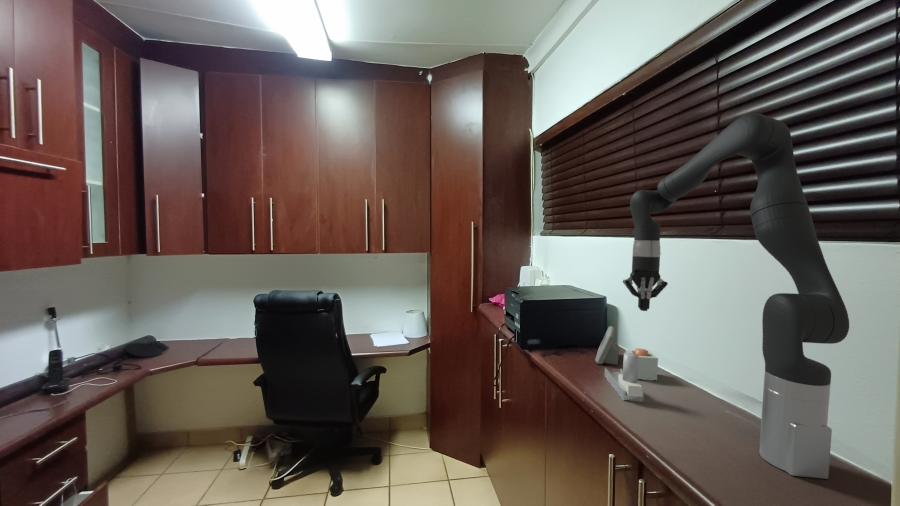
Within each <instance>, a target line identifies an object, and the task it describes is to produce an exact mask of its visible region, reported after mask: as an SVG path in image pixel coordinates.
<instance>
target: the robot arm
mask: <svg viewBox="0 0 900 506" xmlns="http://www.w3.org/2000/svg"><path fill="white" fill-rule="evenodd" d="M735 155H738V156H741V157H744V158H747V159H748V160H750V161H751V163H752V165H753V167H754V169H755V173H756V177H757V186H756V187H757V188H756V190H755V192H754V195H753V197H752V200H751V203H750V208H749V212H750V219H751V222H752V227H753V231H754V235H755V237H756V239H757V241H758V243H759V244H760V245H761V246H762V247H763V248H764V250H766V252H768V253H769V255H771V257H773V258H774V259H775V260H776V261H777V262H778V263H779V265H782V267H783V268H784V269H785V270H786V271H787V272H788V274H789V275H790V276H791V279H792V280H793V282H794V285H795V287H796V290H797V293H793V292H792V293H788V292H784V293H783V292H780V293H775V294H772V295H771V296H769V297H768V298H767V299H766V301H765V303H764V306H763V310H762V324H761V325H762V344H761V345H762V346H761V347H762V349H761V351H762V357H763V360H764V375H763V376H764V377H763V378H764V379H763V390H762V391H763V392H762V403H761V404H762V405H761V406H762V407H761V421H760V436H759V451H758V452H759V455H760V457H761V458H762V459H763V460H765V461H766V462H767V463H769V464H771V465H772V466H774V467H775V468H777V469H779V470H782V471H784V472H786V473H788V474H789V476H794V477H802V478H803V477H805V478H815V479H816V478H817V479H823V480H824V479H826V480H829V472H830V470H829V469H830V461H831V459H830V458H831V449H832V447H831V445H832V434H833V433H832V432H833V431H832V430H833V429H832V428H831V427H829V426H828V420H829V419H828V418H829V405H830V396H831V395H830V394H831V382H832V370H831V368H829V367H828V366H827V365H826V364H824V363H821V362H819V361H817V360H815V359H811V358H808V357H806V355H805V354H804V346H803V343H804V344H805V343H808V344H823V345H824V344H828V345H831V344H837V343H841V342H842V341H844V340H845V339H846V337H848V334H849V332H850V331H849V330H850V318H849V313H848V311H847V308H846V305H845V303H844V300H843V298H842V295H841V293H840V291H839V289H838V287H837V285H836V283H835V280H834V278H833V276H832V273H831V272H830V269H829V268H828V265H827V262H826V260H825V257H824V254H823V252H822V251H823V250H822V248H821V245H820V243H819V239H818V236H817V233H816V229H815V224H814V222H813V221H814V220H813V218H812V214H811V211H810V207H809V204H808V202H807V199H806V196H805V194H804V193H805V192H804V190H803V187H802V183H801V181H800V177H799V174H798V171H797V166H796V161H795V155H794V147H793V140H792V135H791V131H790V128H789V127H788V125H786V124H785V123H784V122H783V121H781V120H779V119H777V118H774V117H770V116H767V115H765V114H762V113H757V112H750V113H747V114H744V115H742V116H740V117H738V118H737V119H735V120H734V121H733V122H731V123H730V124H729V125H728V126H727V127H725V128H724V129H723V130H722V131H721V132H719V134H717V136H715V137H714V138H713V139H712V140H711V141H710V142H709V143H707V144H706V145H705V146H704V147H703V148H702V149H701V150H699V152H698V153H696V154H695V155H694V156H693V157H692V158H691V159H690V160H689V161H687V162H686V163H684V164H683V165H682V166H681V167H679V168H677V169H676V170H674V171H673V172H671V173H669V174H668V175H666V176H665V177H664V178H662V179H661V180H660V181H659V182H658V184H657V189H656V190H650V189H639V190H637V191H635V192H634V193H633V194H632V196H631V198H630V201H629V208H630V209H629V210H630V213H631V217H632V222H633V225H634V234H633V235H634V238H633V239H634V240H633V244H632V258H631V259H632V260H631V265H632V266H631V272H630V274H629V277H627V278H626V279H623V280H622V283H623V285H625V287H626V288H627V290H628V291H629V292H630V294H631V295H632V296H634V297H636V298H637V299H638V303H637V304H638V305H637V307H638V309H639V310H640V311H641V312H648V310H649V309H650V304H651V303H650V302H651V301H650V300H651V299H653V298H657V297H658V296H659V294H661V292H662V291H663V290H664V289H665V288H666V287H667V286H668V282H667V281H666V280H665V281H664V279H662V278H661V274H660V265H661V264H660V263H661V262H660V260H661V241H660V240H661V225H660V224H661V223H659V222H658V221H655V220H653V218H652V215H653V214H655V215H656V214H660V213H662V212H664V211H666V210H668V208H670V207H671V205H673V204H674V203H675V202H676V201H677V200H678V199H679V198H681V197H682V196H683V197H684V196H685V195H686V194H688V193H690V192H691V191H694V190H695V189H696V188H697V187H699V186H700V185H701V184H702V183H703V182H704V181H705V179H706V178H707V177H708V175H709V173H710V172H711V170H712V169H713V168H714V167H715V166H716V165H717V164H719V163H720V162H722V161H724V160H726V159H728V158H730V157H732V156H735ZM633 283H634V285H635V286H636V288H635V287H634V286H633ZM655 285H656V286H655ZM654 286H655V287H654Z"/></svg>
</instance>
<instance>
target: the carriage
mask: <svg viewBox="0 0 900 506" xmlns="http://www.w3.org/2000/svg"><path fill="white" fill-rule="evenodd" d="M622 362H623V363H622V369H623V374H618V382H619V383H620V384H621V386H622V387H623V388H624V389H625V390H626V394H627V395H628V396H640V397H642V391H643V386H642V385H641V384H640V383H639V382H638V379H637V376H638V355H637V354H634V353H626V352H624V353H623V361H622Z"/></svg>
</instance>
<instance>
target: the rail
mask: <svg viewBox="0 0 900 506" xmlns="http://www.w3.org/2000/svg"><path fill="white" fill-rule="evenodd" d="M618 374H623V368H619V371H610V370H609V369H608V367H604V377H605V379H606V378H607V379H606V380H607V381H608V382H609V384H610V383H611V384H610V385H611V387H614V388H613V389H614V390H615V392H616V391H617V392H618V393H617V392H616V393H617V394H618V395H620V396H621V397H620V398H621V399H622V401H624V400H630V401H629V402H636V403H637V402H639V403H642V402H644V394H645V392H644V391H643V390H642V397H640V396H628V395H627V394H626V390H625V389H624V388H623V387H622V386H621V384H620V383H619V382H618Z"/></svg>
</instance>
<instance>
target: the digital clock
mask: <svg viewBox="0 0 900 506" xmlns="http://www.w3.org/2000/svg"><path fill="white" fill-rule="evenodd" d="M616 331H617V329H616V328H615V327H614V326H612V325H610V326H608V328H607V330H606V332H605V333H604V336H603V339H602V340H601V342H600V345H599V347H598V350H597V351H596V352H597V353H596V356H595V359H594V360H595V362H596V364H598V365H602V364H604V363H605V364H610V365H615V364H616V365H615V366H617V365H618V363H619V349H620V348H619V347H620V346H619V345H618V343H616V342H615V337H616Z"/></svg>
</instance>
